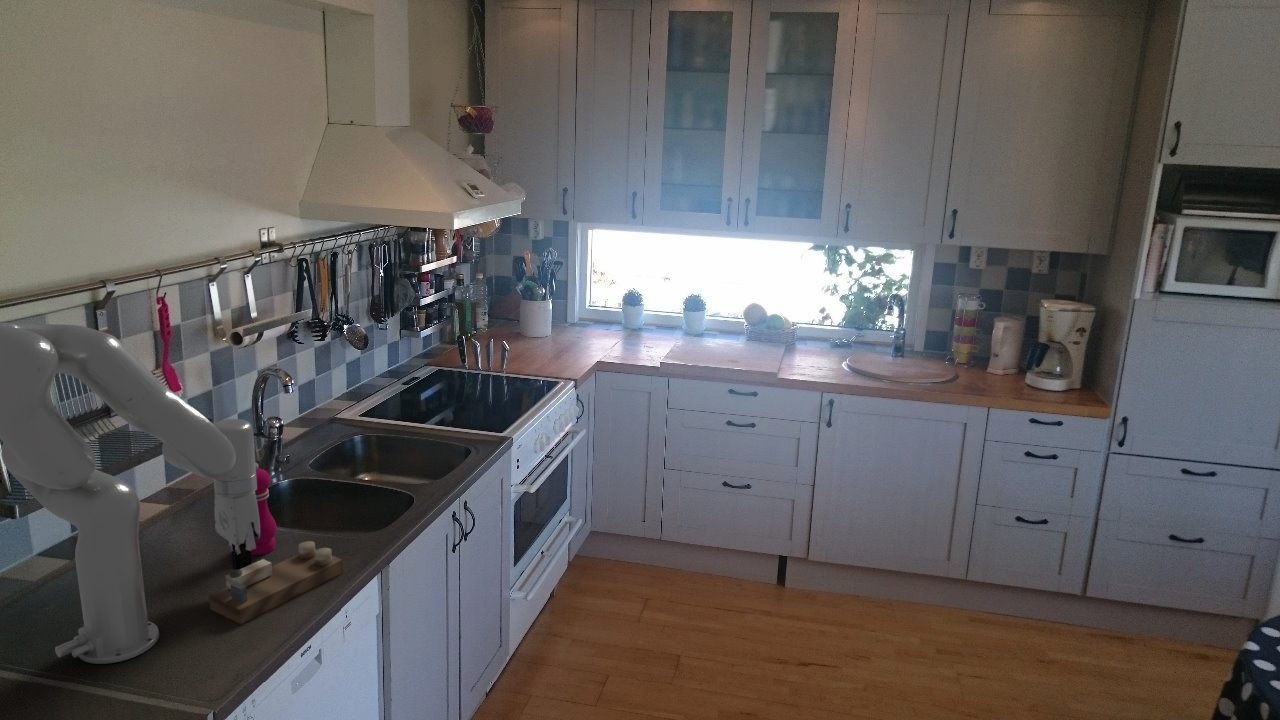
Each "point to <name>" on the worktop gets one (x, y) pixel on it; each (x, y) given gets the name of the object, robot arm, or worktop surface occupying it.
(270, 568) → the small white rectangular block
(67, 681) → the worktop surface
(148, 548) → the worktop surface
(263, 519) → the pepper mill
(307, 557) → the rectangular wooden board
